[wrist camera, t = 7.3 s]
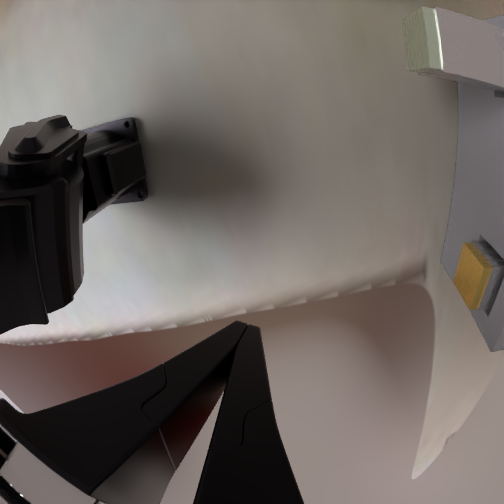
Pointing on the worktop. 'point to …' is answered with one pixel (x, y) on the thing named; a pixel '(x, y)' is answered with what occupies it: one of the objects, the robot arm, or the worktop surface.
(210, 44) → the worktop surface
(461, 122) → the switch panel
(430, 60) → the green button
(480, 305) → the mustard button
